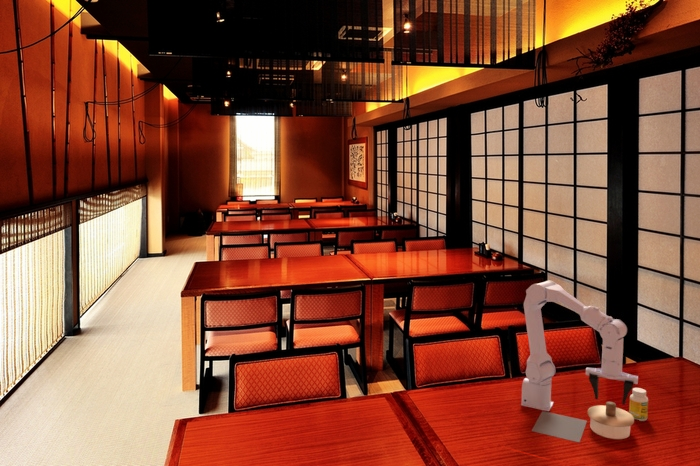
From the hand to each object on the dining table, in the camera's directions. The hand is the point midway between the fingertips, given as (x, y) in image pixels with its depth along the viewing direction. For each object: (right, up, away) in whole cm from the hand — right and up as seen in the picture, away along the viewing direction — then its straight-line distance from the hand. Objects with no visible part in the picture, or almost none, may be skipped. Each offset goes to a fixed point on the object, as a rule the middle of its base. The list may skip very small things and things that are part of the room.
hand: (610, 400), depth 163 cm
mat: (-14, -10, +4) cm, 18 cm away
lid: (0, -5, 0) cm, 5 cm away
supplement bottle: (+14, -9, +9) cm, 19 cm away
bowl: (0, -10, +1) cm, 10 cm away
